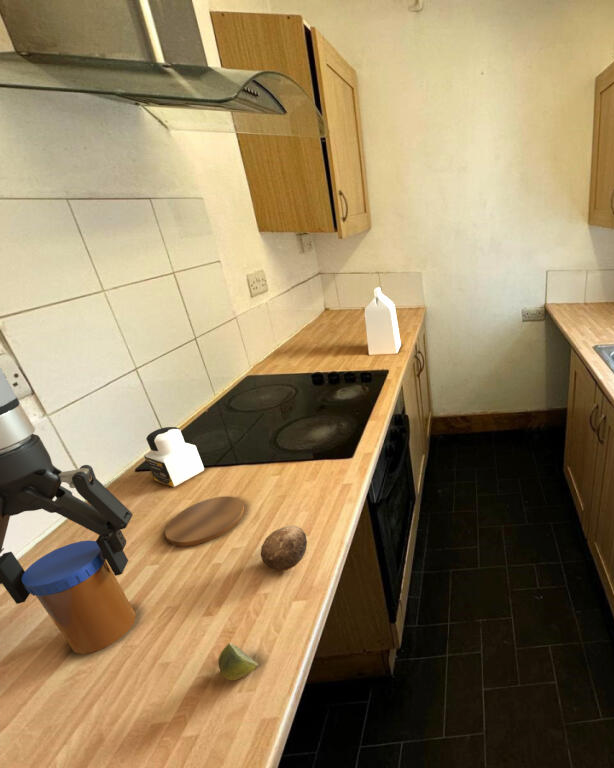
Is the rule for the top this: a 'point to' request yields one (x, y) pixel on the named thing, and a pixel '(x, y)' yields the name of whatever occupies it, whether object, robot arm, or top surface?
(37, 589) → the lid
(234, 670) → the lime
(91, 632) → the jar
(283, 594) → the top surface
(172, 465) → the medicine bottle
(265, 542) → the brown oval lump
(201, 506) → the coaster
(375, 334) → the milk
